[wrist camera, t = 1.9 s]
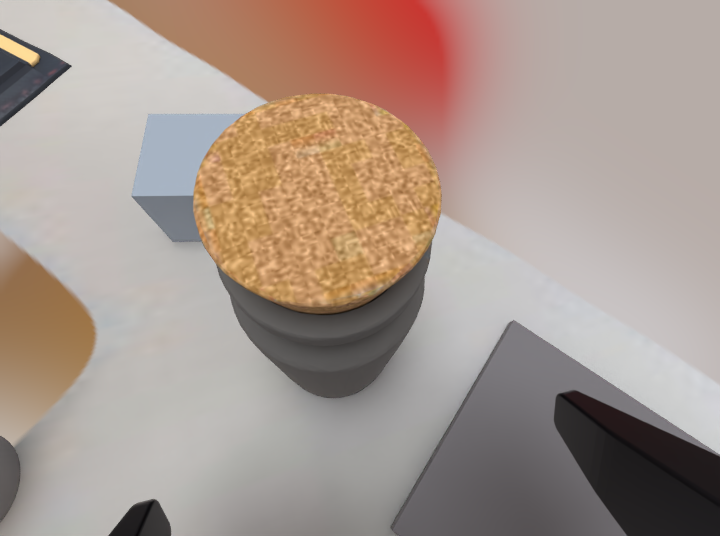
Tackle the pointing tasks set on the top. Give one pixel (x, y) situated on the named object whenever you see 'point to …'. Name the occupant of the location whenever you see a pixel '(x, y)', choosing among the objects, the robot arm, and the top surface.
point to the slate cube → (175, 168)
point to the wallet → (24, 73)
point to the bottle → (321, 234)
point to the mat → (517, 452)
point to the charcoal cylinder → (8, 476)
